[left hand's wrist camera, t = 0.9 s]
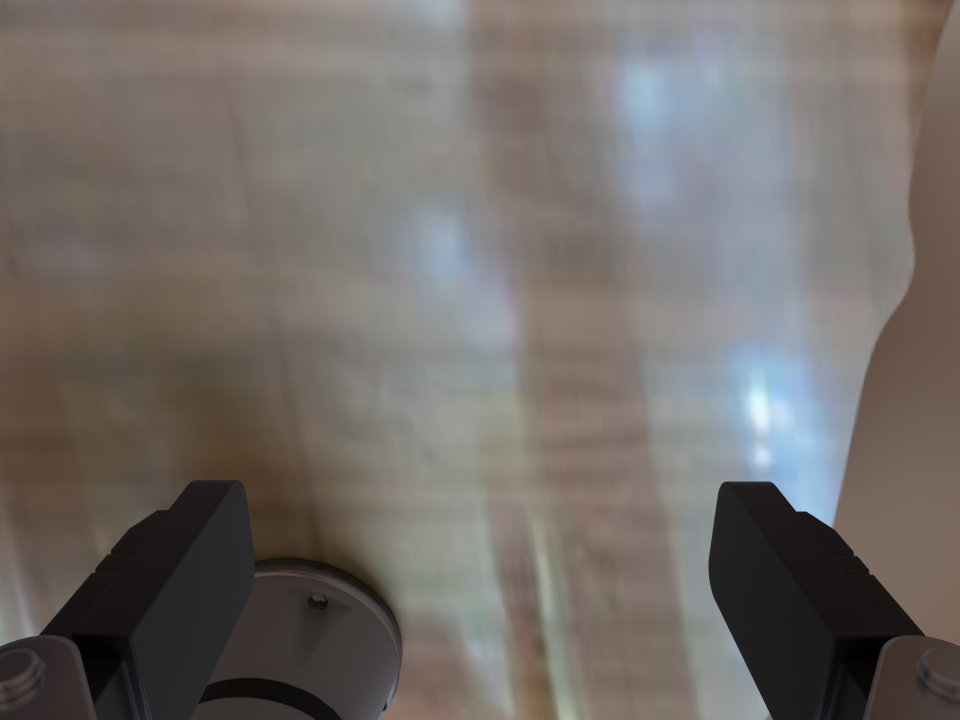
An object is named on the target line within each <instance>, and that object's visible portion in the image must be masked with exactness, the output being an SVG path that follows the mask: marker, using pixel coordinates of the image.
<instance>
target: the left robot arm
mask: <svg viewBox="0 0 960 720" xmlns="http://www.w3.org/2000/svg"><path fill="white" fill-rule="evenodd" d="M254 573H255V558H254V550H253V543H252V536H251V528H250V521H249V514H248V507H247V500H246V493H245V489H244V486H243V484H242V483H241V482H240V481H238V480H195V481H192V482H190V484H189V485H188V486H187V487H186V488H185V490H184V491H183V492H182V493H181V495H180V496H179V497H178V498H177V500H176V501H175V502H174V503H173V505H172V506H171V507H170V509H169V510H157V511H156V512H154V513H153V514H151V515H150V516H148V517H147V518H145V519H144V520H142V521H141V522H139V523H137V524H136V525H134V526H133V527H131V528H130V529H129V530H128V531H127V532H126V533H125V535H124V536H123V537H122V538H121V539H120V540H119V542H118V543H117V544H116V545H115V546H114V547H113V549H112V550H111V555H107V556H106V557H105V558H104V559H103V560H102V562H101V563H100V564H99V565H98V566H97V568H96V572H95V573H91V575H90V576H89V577H88V578H87V579H86V580H85V582H84V583H83V584H82V585H81V586H80V588H79V589H78V590H77V591H76V592H75V593H74V595H73V596H72V597H71V598H70V599H69V600H68V602H67V603H66V604H65V605H64V606H63V608H62V609H61V610H60V611H59V612H58V613H57V615H56V616H55V617H54V618H53V619H52V621H51V622H50V623H49V624H48V625H47V626H46V628H45V629H44V630H43V631H42V632H41V633H40V635H39V636H34V637H28V638H24V639H20V640H17V641H13V642H10V643H7V644H5V645H3V646H0V720H191V718H192V716H193V713H194V711H195V709H196V707H197V705H198V703H199V701H200V699H201V697H202V695H203V693H204V691H205V688H206V686H207V684H208V682H209V680H210V678H211V676H212V674H213V672H214V670H215V668H216V665H217V663H218V661H219V659H220V657H221V655H222V653H223V651H224V649H225V647H226V645H227V643H228V640H229V638H230V636H231V634H232V632H233V630H234V628H235V626H236V624H237V622H238V620H239V618H240V615H241V613H242V611H243V609H244V607H245V605H246V603H247V601H248V599H249V596H250V594H251V590H252V586H253V581H254ZM709 580H710V586H711V590H712V593H713V596H714V599H715V601H716V603H717V605H718V607H719V609H720V611H721V613H722V616H723V618H724V620H725V622H726V624H727V626H728V628H729V630H730V632H731V634H732V636H733V638H734V640H735V642H736V644H737V646H738V649H739V651H740V653H741V655H742V657H743V659H744V661H745V663H746V665H747V667H748V669H749V671H750V673H751V675H752V677H753V679H754V681H755V684H756V686H757V688H758V690H759V692H760V694H761V696H762V698H763V700H764V702H765V704H766V706H767V708H768V710H769V712H770V714H771V716H772V719H773V720H960V646H957V645H955V644H953V643H949V642H946V641H943V640H940V639H936V638H932V637H926V636H925V635H924V633H923V632H922V631H921V630H920V629H919V628H918V626H917V625H916V624H915V623H914V622H913V621H912V620H911V618H910V617H909V616H908V615H907V614H906V612H905V611H904V610H903V609H902V608H901V607H900V606H899V604H898V603H897V602H896V601H895V600H894V598H893V597H892V596H891V595H890V594H889V593H888V591H887V590H886V589H885V588H884V587H883V586H882V585H881V583H880V582H879V581H878V580H877V579H876V577H875V576H874V575H870V574H869V569H868V568H867V567H866V566H865V565H864V563H863V562H862V561H861V560H860V559H859V558H858V557H857V556H854V553H853V551H852V549H851V548H850V547H849V546H848V545H847V544H846V543H845V541H844V540H843V539H842V538H841V537H840V535H839V534H838V533H837V532H836V531H835V530H834V529H832V528H831V527H829V526H828V525H826V524H825V523H823V522H822V521H820V520H819V519H817V518H815V517H814V516H812V515H811V514H809V513H808V512H796V511H795V509H794V508H793V507H792V506H791V504H790V503H789V502H788V501H787V499H786V498H785V497H784V496H783V494H782V493H781V492H780V491H779V489H778V488H777V487H776V486H775V485H774V484H773V483H772V482H724V483H722V485H721V487H720V489H719V492H718V498H717V505H716V512H715V519H714V526H713V533H712V540H711V548H710V555H709Z"/></svg>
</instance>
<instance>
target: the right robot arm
mask: <svg viewBox="0 0 960 720" xmlns="http://www.w3.org/2000/svg"><path fill="white" fill-rule="evenodd" d="M401 660H402V643H401V637H400V633H399V630H398V627H397V624H396V622H395V620H394V618H393V616H392V614H391V613H390V611H389V609H388V608H387V607H386V605H385V604H384V603H383V602H382V600H381V599H380V598H379V597H378V596H377V595H376V594H375V593H374V592H373V591H372V590H370V589H369V588H368V587H367V586H365V585H364V584H363V583H361V582H360V581H358V580H357V579H355V578H353V577H352V576H350V575H348V574H346V573H344V572H342V571H340V570H337V569H335V568H332V567H329V566H326V565H323V564H319V563H315V562H310V561H303V560H292V559H280V560H268V561H262V562H257V563H255V573H254V581H253V586H252V590H251V594H250V596H249V599H248V601H247V603H246V605H245V607H244V609H243V611H242V613H241V615H240V618H239V620H238V622H237V624H236V626H235V628H234V630H233V632H232V634H231V636H230V638H229V640H228V643H227V645H226V647H225V649H224V651H223V653H222V655H221V657H220V659H219V661H218V663H217V665H216V668H215V670H214V672H213V674H212V676H211V678H210V680H209V682H208V684H207V686H206V688H205V691H204V693H203V695H202V697H201V699H200V701H199V703H198V705H197V707H196V709H195V711H194V713H193V716H192V718H191V720H380V719H381V718H382V716H383V715H384V713H385V711H386V710H387V708H388V707H389V705H390V703H391V701H392V699H393V697H394V694H395V692H396V689H397V685H398V680H399V674H400V667H401Z"/></svg>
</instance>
